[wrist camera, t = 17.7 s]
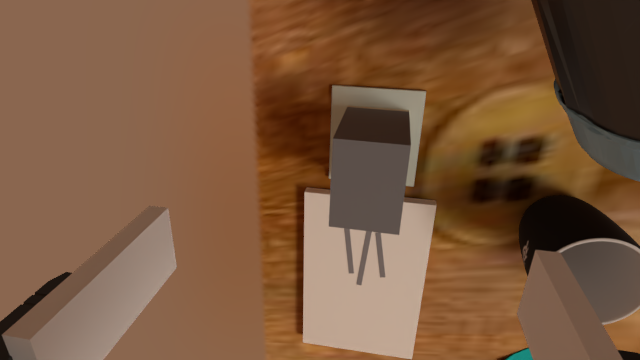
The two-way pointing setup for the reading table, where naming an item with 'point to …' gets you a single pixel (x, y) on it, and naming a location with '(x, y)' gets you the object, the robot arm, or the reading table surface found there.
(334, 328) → the board
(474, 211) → the reading table surface
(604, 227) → the mug
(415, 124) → the pad
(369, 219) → the block
